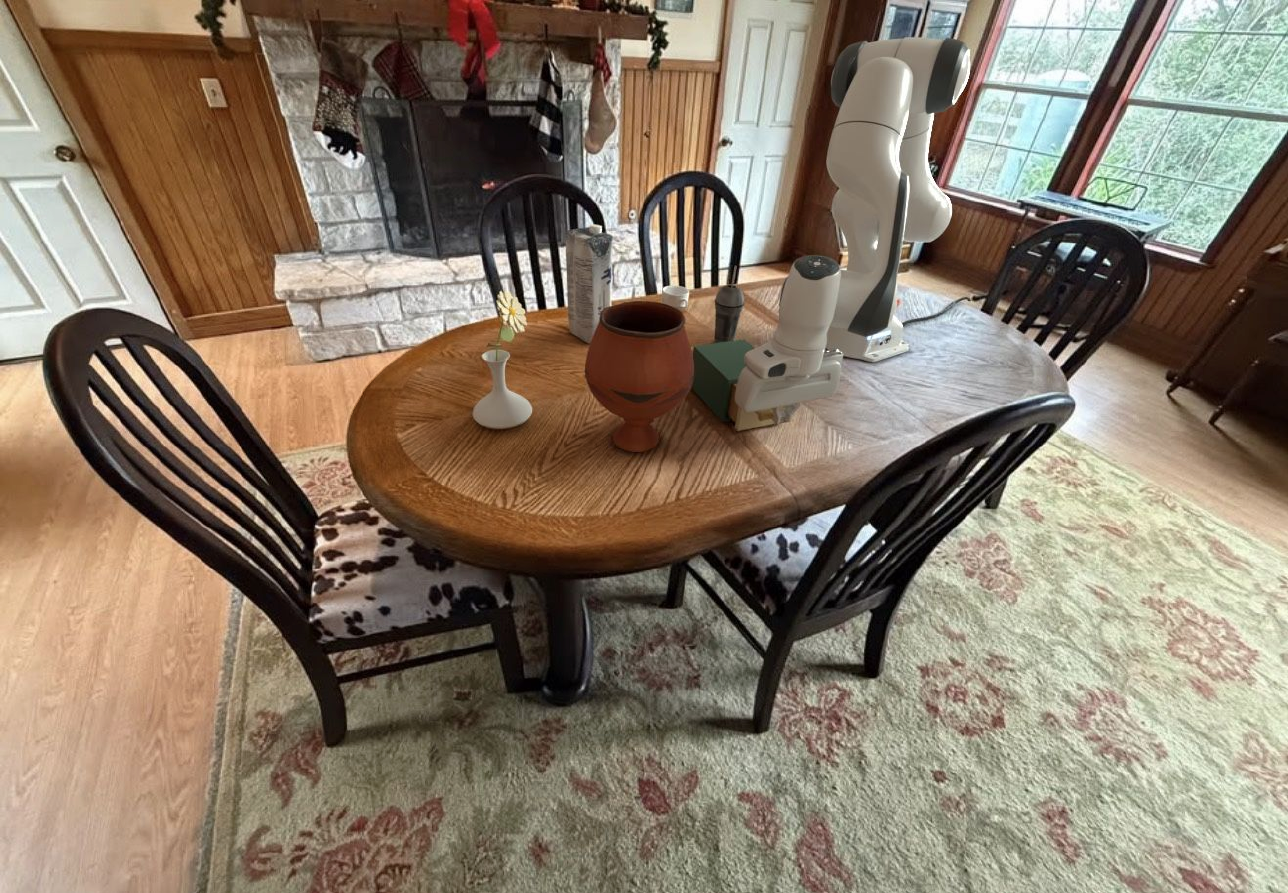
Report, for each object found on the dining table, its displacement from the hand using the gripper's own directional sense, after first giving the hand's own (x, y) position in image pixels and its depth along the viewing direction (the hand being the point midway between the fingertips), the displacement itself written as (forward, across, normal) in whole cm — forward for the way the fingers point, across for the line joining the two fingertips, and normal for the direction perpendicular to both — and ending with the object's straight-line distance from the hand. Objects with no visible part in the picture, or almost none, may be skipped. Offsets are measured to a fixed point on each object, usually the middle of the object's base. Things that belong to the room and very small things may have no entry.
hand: (780, 421), depth 103 cm
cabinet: (+5, 0, -18) cm, 18 cm away
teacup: (+5, -9, -67) cm, 67 cm away
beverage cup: (+5, -11, -42) cm, 43 cm away
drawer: (+4, 0, -10) cm, 11 cm away
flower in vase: (+5, +47, -25) cm, 54 cm away
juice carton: (+5, +20, -57) cm, 60 cm away
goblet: (+5, +25, -10) cm, 28 cm away
